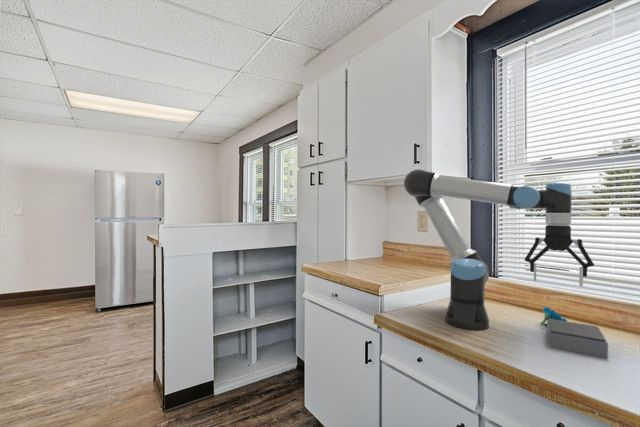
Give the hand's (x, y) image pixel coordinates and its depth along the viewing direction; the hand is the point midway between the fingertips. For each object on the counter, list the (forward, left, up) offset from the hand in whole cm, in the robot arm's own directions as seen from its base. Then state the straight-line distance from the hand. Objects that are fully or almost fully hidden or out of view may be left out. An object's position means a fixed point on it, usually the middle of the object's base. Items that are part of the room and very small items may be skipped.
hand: (557, 283), depth 119 cm
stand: (+4, -15, -16) cm, 22 cm away
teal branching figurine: (0, 0, -17) cm, 17 cm away
